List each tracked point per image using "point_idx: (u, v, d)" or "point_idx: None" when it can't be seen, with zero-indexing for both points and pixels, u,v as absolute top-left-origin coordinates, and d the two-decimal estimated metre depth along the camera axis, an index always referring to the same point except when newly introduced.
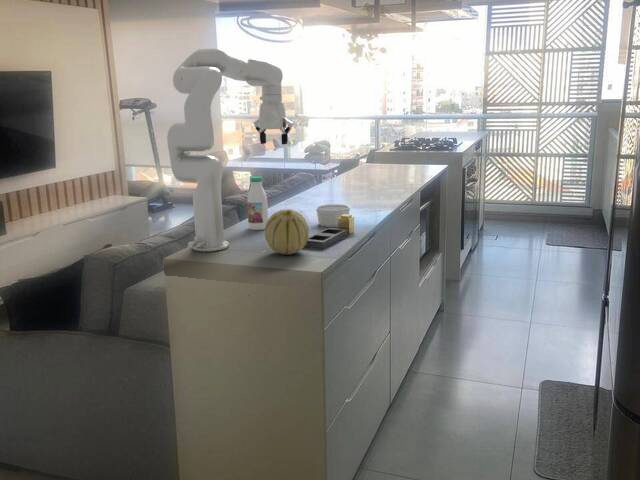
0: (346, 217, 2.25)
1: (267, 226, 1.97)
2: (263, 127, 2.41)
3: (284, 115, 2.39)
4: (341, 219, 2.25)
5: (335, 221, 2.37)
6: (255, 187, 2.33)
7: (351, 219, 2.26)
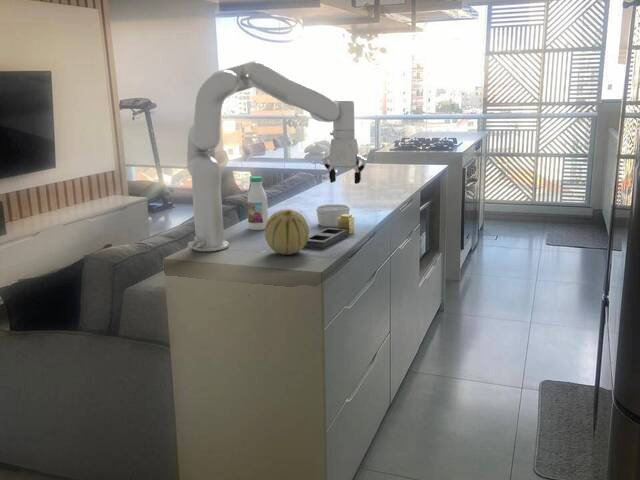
0: (346, 217, 2.25)
1: (267, 226, 1.97)
2: (334, 165, 2.21)
3: (357, 152, 2.19)
4: (341, 219, 2.25)
5: (335, 221, 2.37)
6: (256, 187, 2.33)
7: (351, 219, 2.26)
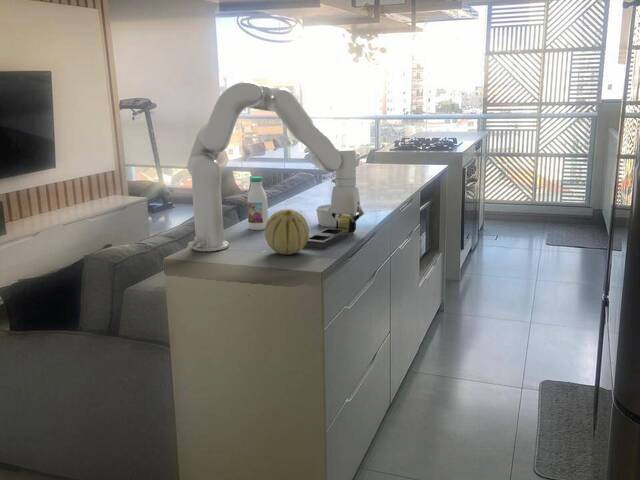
0: (346, 217, 2.25)
1: (267, 226, 1.97)
2: (335, 212, 2.25)
3: (358, 199, 2.23)
4: (341, 219, 2.25)
5: (335, 221, 2.37)
6: (256, 187, 2.33)
7: None
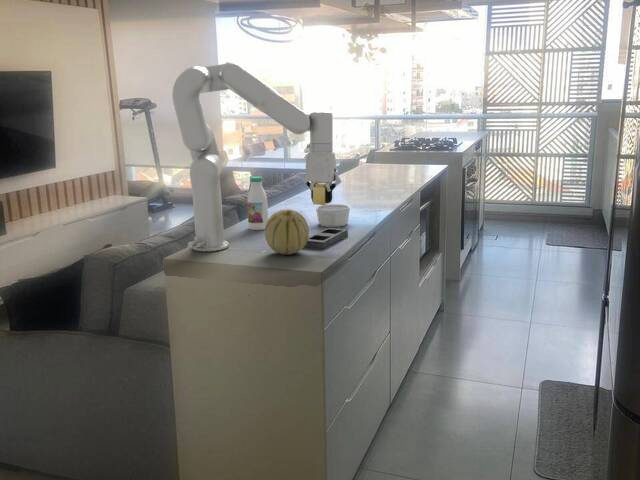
0: (322, 185, 2.08)
1: (267, 226, 1.97)
2: (310, 180, 2.08)
3: (335, 167, 2.06)
4: (316, 188, 2.08)
5: (335, 221, 2.37)
6: (255, 187, 2.33)
7: None
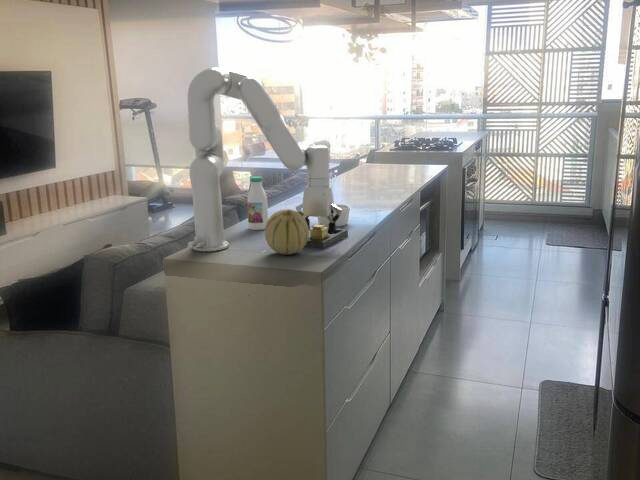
0: (319, 228, 2.09)
1: (267, 226, 1.97)
2: (307, 214, 2.08)
3: (332, 201, 2.07)
4: (313, 230, 2.09)
5: None
6: (256, 187, 2.33)
7: (325, 230, 2.10)
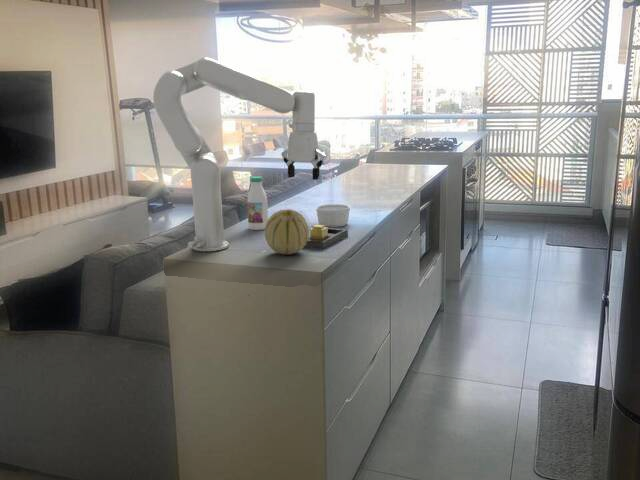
0: (319, 228, 2.09)
1: (267, 226, 1.97)
2: (292, 159, 2.11)
3: (316, 146, 2.09)
4: (313, 230, 2.09)
5: (335, 221, 2.37)
6: (256, 187, 2.33)
7: (325, 230, 2.10)
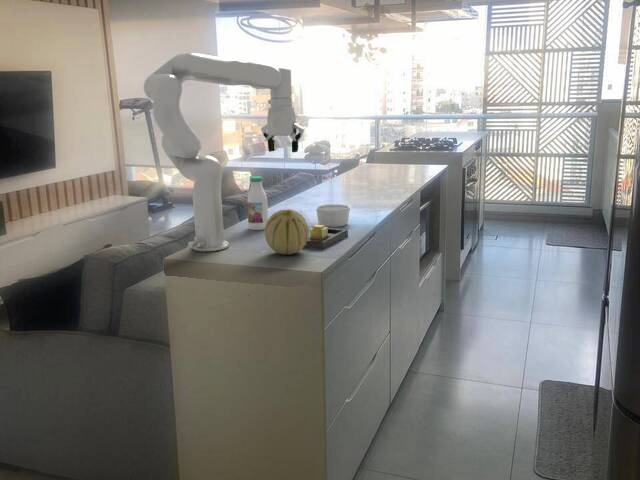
0: (319, 228, 2.09)
1: (267, 226, 1.97)
2: (271, 133, 2.20)
3: (294, 120, 2.19)
4: (313, 230, 2.09)
5: (335, 221, 2.37)
6: (256, 187, 2.33)
7: (325, 230, 2.10)
